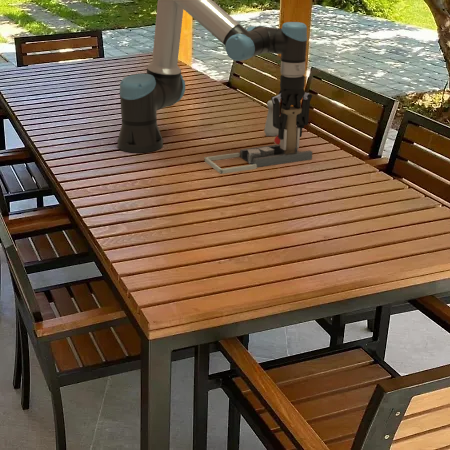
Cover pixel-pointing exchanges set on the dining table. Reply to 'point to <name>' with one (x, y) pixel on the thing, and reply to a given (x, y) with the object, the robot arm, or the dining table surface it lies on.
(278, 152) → the rail
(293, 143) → the handle
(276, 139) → the ladybug figurine
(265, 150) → the pale beige cube
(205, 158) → the tray
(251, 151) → the pale grey cube
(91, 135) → the dining table surface
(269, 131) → the salt shaker
